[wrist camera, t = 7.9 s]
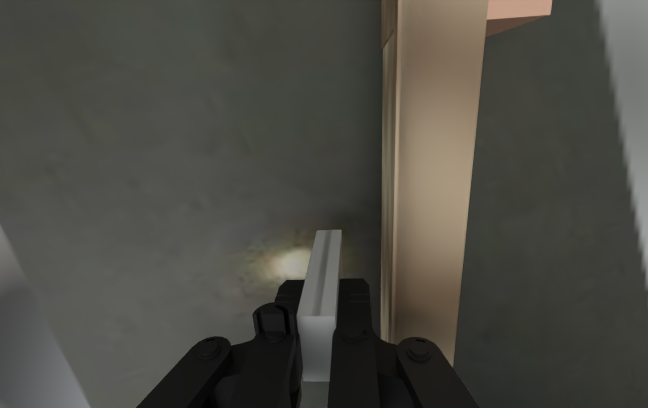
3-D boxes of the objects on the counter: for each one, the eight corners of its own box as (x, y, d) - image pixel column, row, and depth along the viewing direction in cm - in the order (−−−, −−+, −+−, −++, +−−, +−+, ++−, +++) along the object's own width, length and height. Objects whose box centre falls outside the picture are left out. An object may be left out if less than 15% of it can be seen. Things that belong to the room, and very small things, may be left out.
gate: (411, 370, 23) (437, 521, 15) (378, 369, 23) (387, 517, 16) (429, -2, 16) (496, -83, 8) (381, 2, 16) (399, -74, 8)
